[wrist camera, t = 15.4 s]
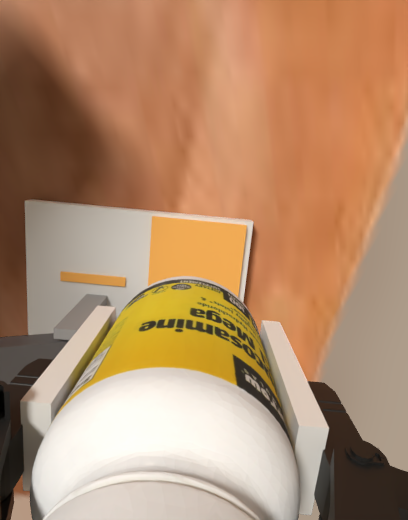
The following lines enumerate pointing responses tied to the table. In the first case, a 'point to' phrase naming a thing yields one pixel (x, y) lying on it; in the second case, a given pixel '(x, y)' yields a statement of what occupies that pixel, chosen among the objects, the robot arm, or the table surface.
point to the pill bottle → (171, 419)
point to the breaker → (26, 352)
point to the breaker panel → (120, 258)
